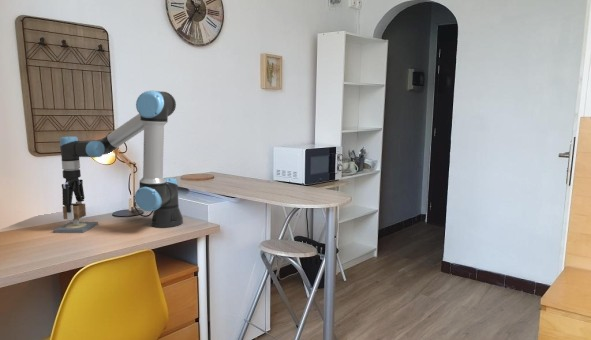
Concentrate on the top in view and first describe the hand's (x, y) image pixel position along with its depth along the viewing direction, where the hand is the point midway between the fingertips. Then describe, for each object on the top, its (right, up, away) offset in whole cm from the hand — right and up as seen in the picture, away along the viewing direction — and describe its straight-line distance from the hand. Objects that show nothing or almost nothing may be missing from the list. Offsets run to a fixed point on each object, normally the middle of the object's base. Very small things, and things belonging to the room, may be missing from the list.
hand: (75, 216), depth 207 cm
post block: (0, -6, +1) cm, 6 cm away
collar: (0, 0, 0) cm, 0 cm away
